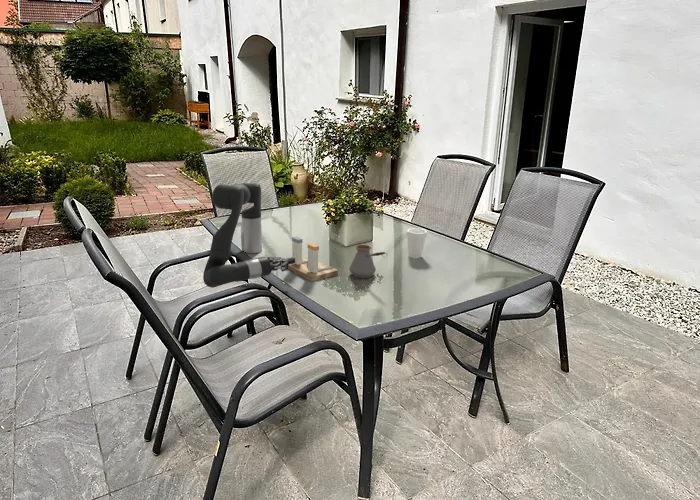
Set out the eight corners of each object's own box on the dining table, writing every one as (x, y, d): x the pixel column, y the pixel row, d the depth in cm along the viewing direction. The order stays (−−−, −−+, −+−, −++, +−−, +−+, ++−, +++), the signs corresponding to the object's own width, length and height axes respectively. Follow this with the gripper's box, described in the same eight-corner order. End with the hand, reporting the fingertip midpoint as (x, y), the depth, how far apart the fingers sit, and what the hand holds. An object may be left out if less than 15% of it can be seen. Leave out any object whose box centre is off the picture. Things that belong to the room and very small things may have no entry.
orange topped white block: (313, 273, 195) (314, 247, 191) (307, 270, 198) (307, 244, 195) (318, 272, 196) (318, 246, 193) (312, 268, 200) (312, 243, 196)
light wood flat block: (311, 281, 193) (311, 274, 192) (285, 267, 208) (285, 260, 207) (337, 274, 202) (338, 267, 201) (311, 261, 216) (311, 255, 215)
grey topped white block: (297, 265, 204) (297, 239, 200) (291, 262, 207) (291, 237, 203) (302, 264, 205) (302, 239, 201) (296, 261, 209) (296, 236, 205)
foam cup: (426, 255, 231) (429, 230, 227) (421, 260, 223) (423, 234, 219) (408, 252, 235) (410, 227, 231) (402, 257, 227) (404, 231, 223)
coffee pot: (344, 273, 204) (345, 240, 199) (365, 268, 210) (367, 237, 205) (371, 290, 187) (373, 254, 182) (394, 285, 193) (396, 250, 188)
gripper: (264, 263, 172) (303, 255, 183) (247, 254, 182) (285, 247, 193) (265, 282, 175) (303, 273, 185) (248, 272, 184) (285, 264, 195)
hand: (293, 260), depth 189 cm, fingers closed
